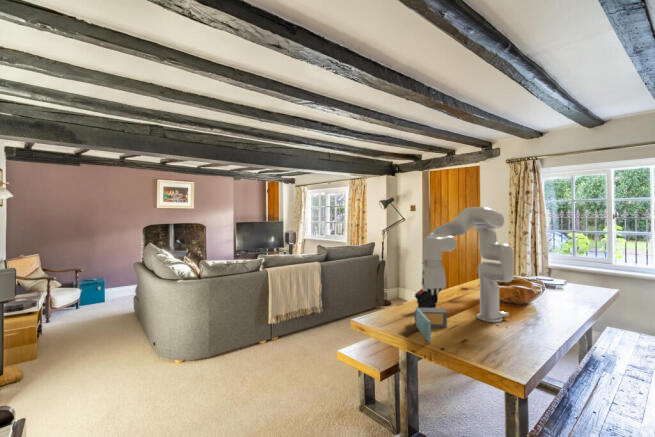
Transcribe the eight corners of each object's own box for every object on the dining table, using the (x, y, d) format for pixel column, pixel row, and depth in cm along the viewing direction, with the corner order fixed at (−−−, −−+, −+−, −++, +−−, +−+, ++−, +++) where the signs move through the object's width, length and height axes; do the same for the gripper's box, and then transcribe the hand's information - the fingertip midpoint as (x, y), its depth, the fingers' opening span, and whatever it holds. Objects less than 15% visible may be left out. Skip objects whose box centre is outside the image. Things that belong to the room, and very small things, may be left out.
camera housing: (443, 322, 164) (442, 307, 164) (447, 327, 157) (446, 312, 157) (414, 322, 165) (414, 307, 165) (416, 327, 158) (416, 312, 158)
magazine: (440, 306, 185) (431, 285, 182) (424, 318, 181) (415, 297, 178) (435, 304, 189) (427, 284, 186) (420, 316, 184) (411, 296, 181)
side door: (430, 342, 139) (430, 321, 139) (426, 342, 139) (425, 321, 139) (418, 325, 159) (417, 307, 158) (413, 325, 159) (413, 307, 158)
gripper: (421, 265, 135) (422, 306, 136) (452, 263, 138) (453, 303, 138) (414, 262, 143) (415, 301, 143) (443, 261, 145) (444, 298, 146)
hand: (433, 302), depth 141 cm, fingers closed
